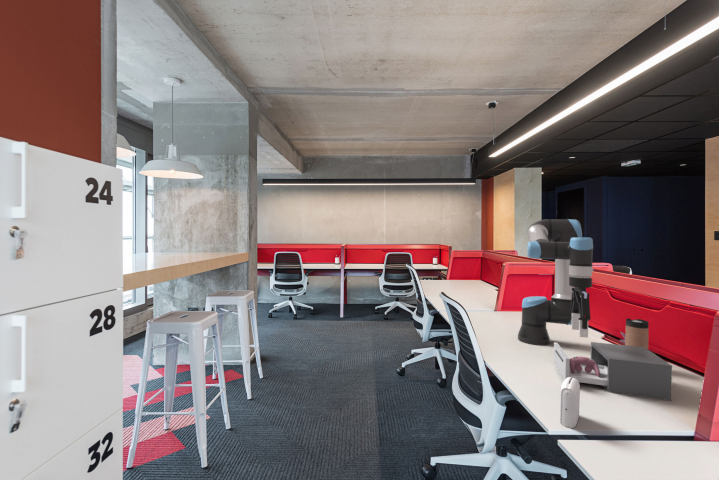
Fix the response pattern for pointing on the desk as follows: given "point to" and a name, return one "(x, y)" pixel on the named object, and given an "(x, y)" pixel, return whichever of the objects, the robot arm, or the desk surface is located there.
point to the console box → (634, 370)
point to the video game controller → (578, 361)
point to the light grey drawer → (563, 367)
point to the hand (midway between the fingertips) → (579, 333)
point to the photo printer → (569, 402)
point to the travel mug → (637, 333)
